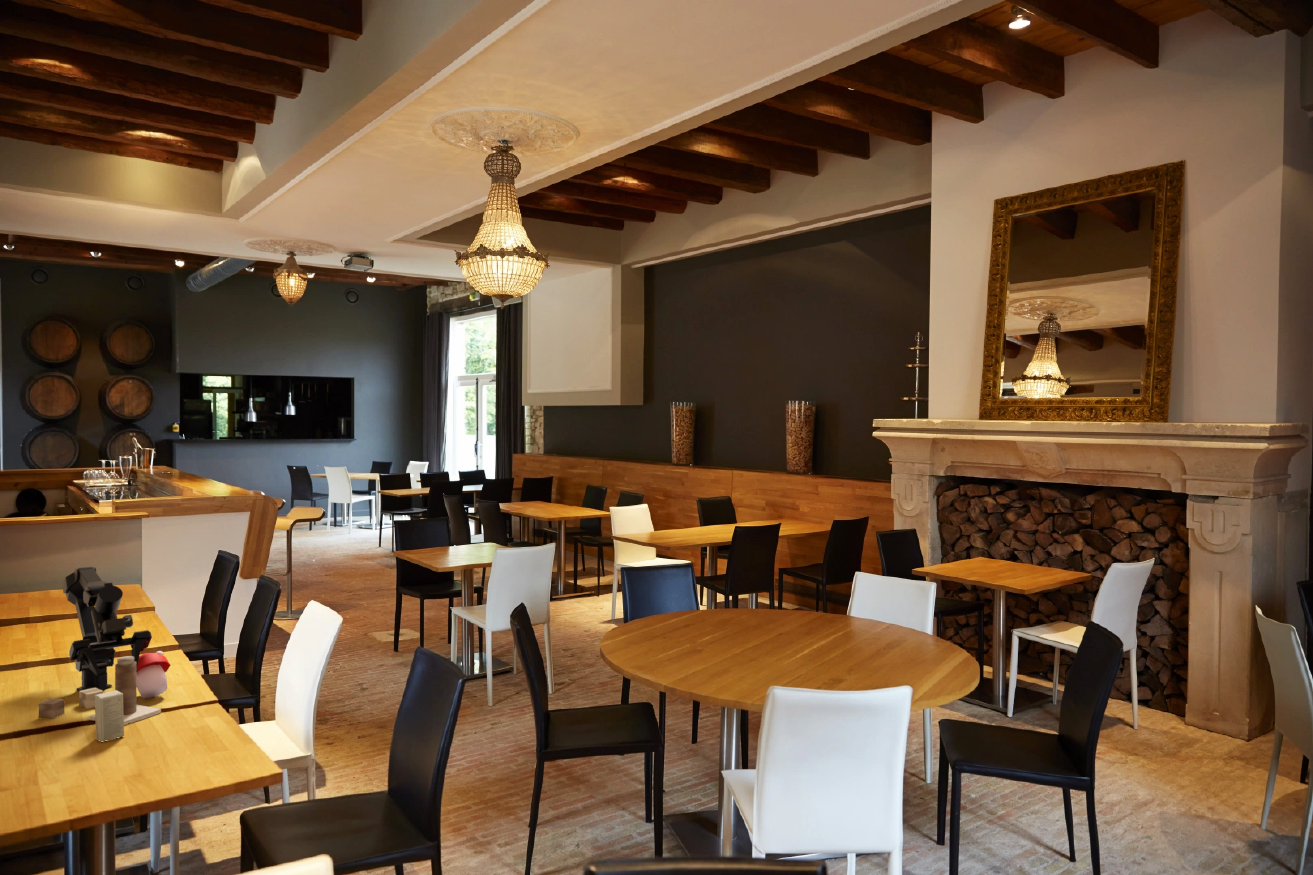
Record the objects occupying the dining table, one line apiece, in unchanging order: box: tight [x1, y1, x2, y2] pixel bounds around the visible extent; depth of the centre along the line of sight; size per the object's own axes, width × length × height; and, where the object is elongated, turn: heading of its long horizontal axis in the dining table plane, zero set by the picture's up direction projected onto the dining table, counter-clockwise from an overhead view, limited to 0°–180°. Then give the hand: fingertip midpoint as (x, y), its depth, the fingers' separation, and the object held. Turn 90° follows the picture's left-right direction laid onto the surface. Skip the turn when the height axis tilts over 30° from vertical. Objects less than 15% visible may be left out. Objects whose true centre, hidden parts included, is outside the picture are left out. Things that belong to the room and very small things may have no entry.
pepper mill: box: [114, 655, 137, 715], centre depth 227 cm, size 5×5×14 cm
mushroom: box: [136, 650, 171, 699], centre depth 243 cm, size 11×11×12 cm
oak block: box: [78, 688, 104, 709], centre depth 235 cm, size 5×4×4 cm
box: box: [94, 689, 125, 742], centre depth 211 cm, size 5×4×11 cm
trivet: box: [89, 704, 162, 726], centre depth 227 cm, size 12×11×1 cm
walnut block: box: [38, 698, 65, 720], centre depth 227 cm, size 4×4×4 cm
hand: (117, 670), depth 232 cm, fingers open, 9 cm apart
